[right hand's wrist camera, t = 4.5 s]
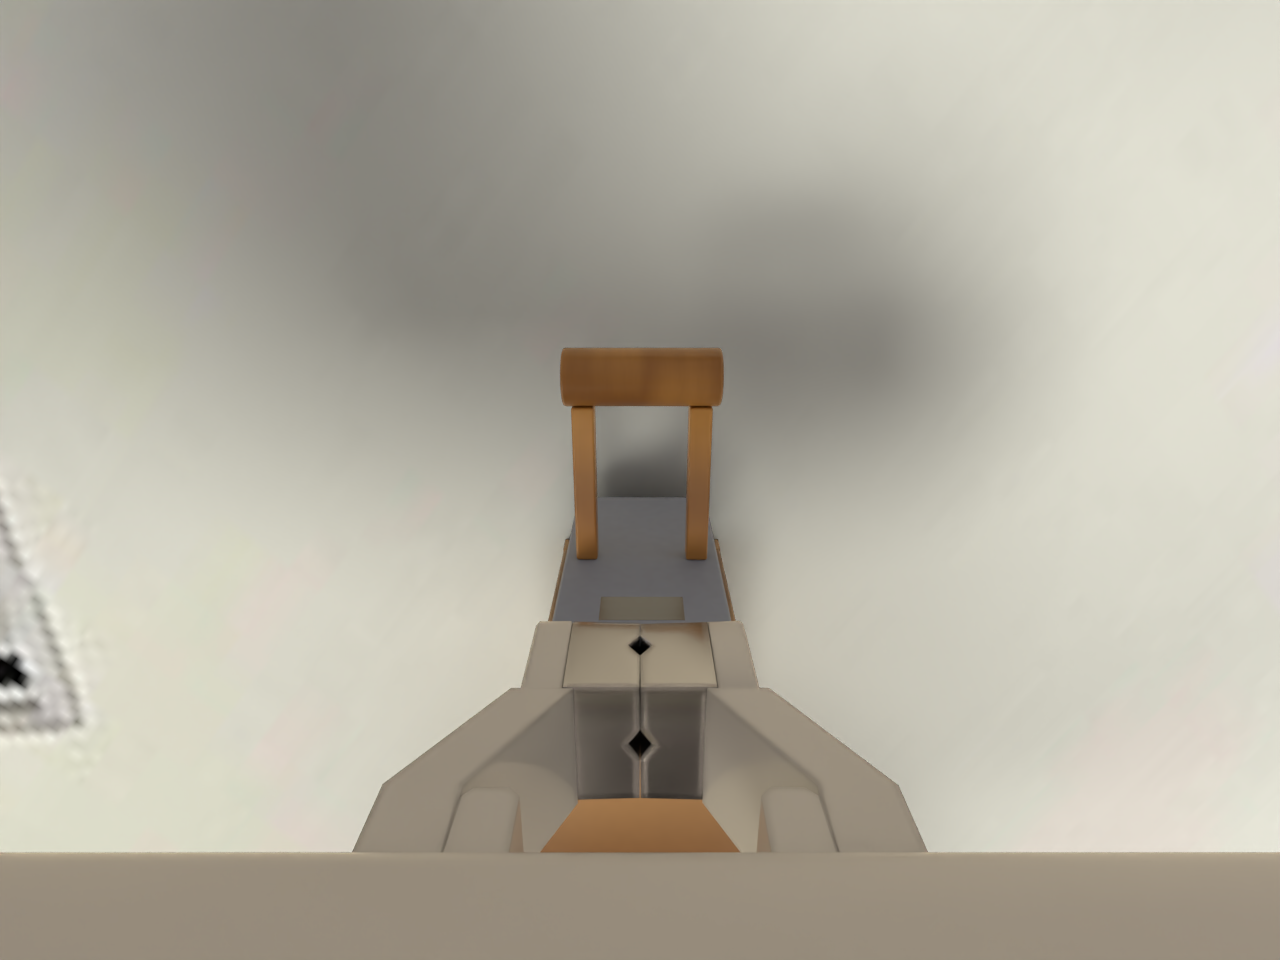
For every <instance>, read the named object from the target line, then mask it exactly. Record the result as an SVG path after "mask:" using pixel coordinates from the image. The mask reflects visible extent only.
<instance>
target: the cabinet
mask: <svg viewBox="0 0 1280 960" xmlns="http://www.w3.org/2000/svg"><path fill="white" fill-rule="evenodd" d="M714 542H715V547H716V551H717V556H718V561H719V565H720V570H721V575H722V579H723V584H724V589H725V593H726V598H727V603H728V607H729V612H730V617H731V621H735V616H734V612H733V607H732V603H731V599H730V594H729V590H728V585H727V581H726V576H725V572H724V567H723V563H722V558H721V554H720V547H719V542H718V540H714ZM568 545H569V539H566V540H565V544H564V553H563V557H562V561H561V566H560V570H559V575H558V579H557V584H556V588H555V593H554V597H553V602H552V606H551V611H550V615H549V619H548V621H552V619H553V615H554V610H555V605H556V601H557V596H558V591H559V587H560V582H561V577H562V573H563V568H564V563H565V559H566V554H567V549H568ZM696 852H740V851H739V850H738V848H737V847H736V846H735V844H734V843H733V842H732V841H731V839H730V838H729V837H728V835H727V834H726V833H725V831H724V830H723V829H722V828H721V826H720V825H719V824H718V822H717V821H716V820H715V818H714V817H713V816H712V814H711V813H710V812H709V811H708V809H707V808H706V807H705V805H704V804H703V803H702V800H693V799H657V798H641V783H640V798H622V799H587V800H578V804H577V805H576V806H575V808H574V809H573V810H572V811H571V813H570V814H569V815H568V817H567V818H566V819H565V820H564V822H563V823H562V824H561V826H560V827H559V828H558V830H557V831H556V832H555V833H554V835H553V836H552V837H551V839H550V840H549V841H548V843H547V844H546V845H545V846H544V848H543V849H542V850H541V852H540V853H696Z"/></svg>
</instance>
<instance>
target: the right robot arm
mask: <svg viewBox="0 0 1280 960" xmlns="http://www.w3.org/2000/svg"><path fill="white" fill-rule="evenodd" d="M640 783H641V798H657V799H693V800H702V803H703V804H704V805H705V807H706V808H707V809H708V811H709V812H710V813H711V814H712V816H713V817H714V818H715V820H716V821H717V822H718V824H719V825H720V826H721V828H722V829H723V830H724V831H725V833H726V834H727V835H728V837H729V838H730V839H731V841H732V842H733V843H734V844H735V846H736V847H737V848H738V850H739V851H740V852H696V853H540V852H541V850H542V849H543V848H544V846H545V845H546V844H547V843H548V841H549V840H550V839H551V837H552V836H553V835H554V833H555V832H556V831H557V830H558V828H559V827H560V826H561V824H562V823H563V822H564V820H565V819H566V818H567V817H568V815H569V814H570V813H571V811H572V810H573V809H574V808H575V806H576V805H577V804H578V800H587V799H622V798H640ZM0 960H1280V852H928V851H927V849H926V847H925V844H924V842H923V840H922V838H921V835H920V833H919V831H918V829H917V826H916V824H915V822H914V820H913V817H912V815H911V813H910V811H909V808H908V806H907V804H906V801H905V799H904V797H903V795H902V792H901V790H900V788H899V786H898V785H897V784H896V783H895V782H893V781H892V780H891V779H889V778H888V777H887V776H885V775H884V774H883V773H881V772H880V771H879V770H877V769H876V768H875V767H873V766H872V765H871V764H869V763H868V762H867V761H865V760H864V759H863V758H861V757H860V756H859V755H857V754H856V753H855V752H853V751H852V750H851V749H849V748H848V747H847V746H845V745H844V744H843V743H841V742H840V741H839V740H837V739H836V738H835V737H833V736H832V735H831V734H829V733H828V732H827V731H825V730H824V729H823V728H822V727H820V726H819V725H818V724H816V723H815V722H814V721H812V720H811V719H810V718H808V717H807V716H806V715H804V714H803V713H802V712H800V711H799V710H798V709H796V708H795V707H794V706H792V705H791V704H790V703H788V702H787V701H786V700H784V699H783V698H782V697H780V696H779V695H778V694H776V693H775V692H774V691H772V690H771V689H770V688H759V685H758V681H757V677H756V673H755V669H754V665H753V661H752V657H751V653H750V649H749V645H748V641H747V637H746V633H745V629H744V625H743V623H742V622H741V621H719V622H692V623H652V624H640V623H628V622H577V621H574V623H573V622H572V621H540V622H539V623H538V624H537V625H536V629H535V633H534V637H533V641H532V645H531V649H530V653H529V657H528V661H527V665H526V669H525V673H524V677H523V681H522V685H521V688H511V689H509V690H508V691H507V692H505V693H504V694H502V695H501V696H500V697H498V698H497V699H496V700H494V701H493V702H492V703H490V704H489V705H488V706H486V707H485V708H484V709H482V710H481V711H480V712H478V713H477V714H476V715H474V716H473V717H472V718H470V719H469V720H468V721H466V722H465V723H464V724H462V725H461V726H460V727H458V728H457V729H456V730H454V731H453V732H452V733H450V734H449V735H448V736H446V737H445V738H444V739H442V740H441V741H440V742H438V743H437V744H436V745H434V746H433V747H432V748H430V749H429V750H428V751H426V752H425V753H424V754H422V755H421V756H420V757H418V758H417V759H416V760H414V761H413V762H412V763H410V764H409V765H408V766H406V767H405V768H404V769H402V770H401V771H400V772H398V773H397V774H396V775H394V776H393V777H392V778H390V779H389V780H388V781H386V782H385V783H384V784H383V785H382V787H381V789H380V791H379V794H378V796H377V798H376V800H375V802H374V805H373V807H372V809H371V811H370V814H369V816H368V818H367V820H366V822H365V825H364V827H363V829H362V831H361V834H360V836H359V838H358V840H357V842H356V845H355V847H354V849H353V851H352V852H169V853H82V852H81V853H79V852H0Z"/></svg>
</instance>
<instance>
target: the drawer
mask: <svg viewBox="0 0 1280 960" xmlns="http://www.w3.org/2000/svg"><path fill="white" fill-rule="evenodd" d="M723 384H724V363H723V353H722V350H721V349H720V348H564V349H563V350H562V353H561V361H560V386H561V397H562V402H563V404H564V405H565V406H572V409H571V420H572V447H573V474H574V502H575V517H574V522H573V526H572V531H571V536H570V540H569V545H568V549H567V554H566V559H565V563H564V568H563V573H562V577H561V582H560V587H559V591H558V596H557V601H556V605H555V610H554V615H553V619H552V621H572V622H573V623H574V621H577V622H628V623H640V624H652V623H692V622H719V621H731V617H730V612H729V607H728V603H727V598H726V593H725V589H724V584H723V579H722V575H721V570H720V565H719V561H718V556H717V551H716V547H715V542H714V537H713V533H712V528H711V523H710V519H709V495H710V469H711V443H712V417H713V409H712V406H719V405H720V404H721V401H722V396H723ZM595 406H689V411H688V450H687V490H686V497H597V462H596V421H595Z"/></svg>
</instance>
